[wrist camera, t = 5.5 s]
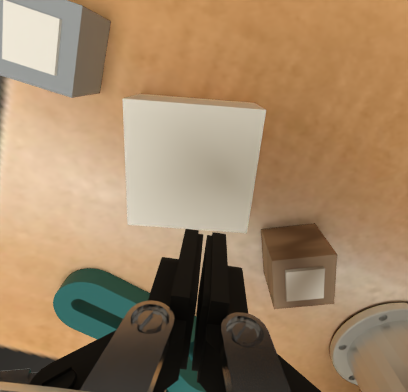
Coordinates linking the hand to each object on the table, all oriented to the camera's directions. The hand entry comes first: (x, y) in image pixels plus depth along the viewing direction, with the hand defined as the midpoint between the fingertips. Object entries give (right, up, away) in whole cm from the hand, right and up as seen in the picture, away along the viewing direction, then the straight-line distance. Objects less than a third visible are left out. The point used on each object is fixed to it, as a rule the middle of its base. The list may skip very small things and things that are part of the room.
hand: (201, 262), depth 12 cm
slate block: (-10, +14, +9) cm, 19 cm away
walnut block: (+8, -2, +16) cm, 18 cm away
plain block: (-1, +6, +12) cm, 14 cm away
